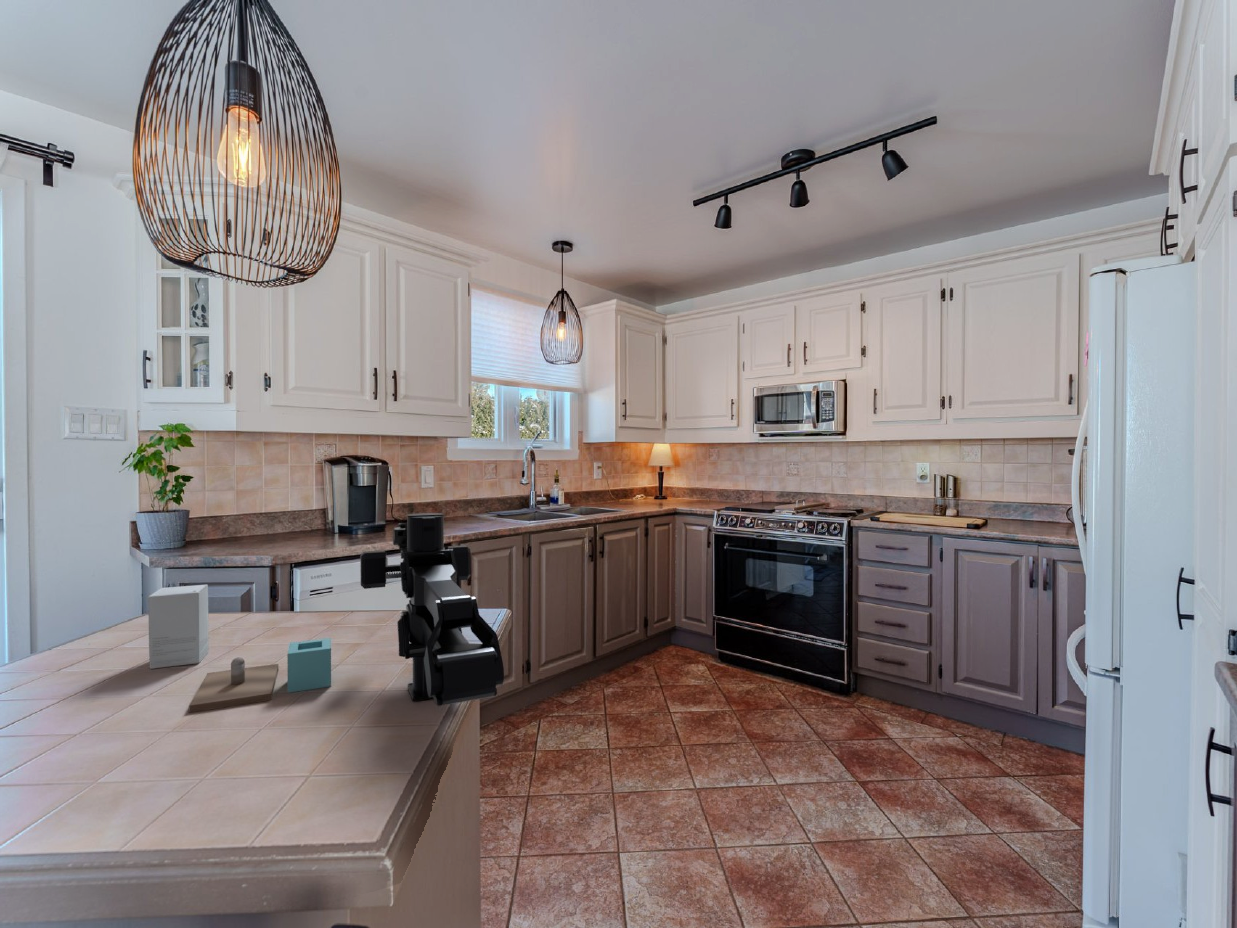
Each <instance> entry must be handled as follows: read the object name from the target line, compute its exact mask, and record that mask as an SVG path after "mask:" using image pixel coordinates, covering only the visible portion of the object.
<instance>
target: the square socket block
mask: <svg viewBox="0 0 1237 928" xmlns="http://www.w3.org/2000/svg"><path fill="white" fill-rule="evenodd" d="M287 650H288V651H287V657H286V658H287V694H289V693H294V692H295V693H296V692H302V691H307V690H308V691H310V690H315V689H321V688H328V687H332V638H331V637H328V638H319V639H311V640H301V641H294V642H289V644H288V649H287Z"/></svg>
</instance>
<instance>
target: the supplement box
mask: <svg viewBox="0 0 1237 928" xmlns="http://www.w3.org/2000/svg"><path fill="white" fill-rule="evenodd" d="M147 603H148V604H147V606H148V607H147V608H148V653H149V654H148V655H149V656H148V657H149V670H154V669H159V668H160V669H162V668H168V667H177V666H179V667H180V666H185V665H195V664H200V663H201V661H202V660H203V659H204V658H205V657H206V656H207V654H208V653H209V651H210V640H209V639H210V637H209V634H210V633H209V629H210V628H209V626H210V625H209V624H210V623H209V585H208V584H198V585H185V586H183V585H181V586H171V587H170V586H169V587H168V586H167V587H161V588H159V589H158V590H156V591H155V592H153V593H151V594H150V595H148V596H147Z"/></svg>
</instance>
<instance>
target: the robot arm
mask: <svg viewBox="0 0 1237 928" xmlns="http://www.w3.org/2000/svg"><path fill="white" fill-rule="evenodd" d="M444 515H445V514H444V513H437V512H436V513H435V512H428V513H427V512H425V513H423V512H422V513H420V512H419V513H412V514H411V513H410V514H407V517H406V518H407V519H406V520H407V522H404V523H398V525H397V527H393V529H392V543H393V545H392V546H398V549H399V550H400V559H403V560H402V562H400V564H399V563H398V564H388V557H387V551H386V550H384V549H383V550H372V551H371V550H368V551H363V552H362V553H361V554H360V555H359V557H360V561H359V562H360V565H359V567H360V586H361V587H362V588H363V589H365V590H367V589H375V588H376V589H379V588H386V584H387V580H388V579H389V580H390V579H400V581H401V582H400V583H401V591H402V592H403V594H404V595H405V599H409V600H408V603H407V604H406V605H405V610H404V611H401V613H400V618H399V619H398V620H397V622H396V623H397V637H398V638H397V639H398V656H399V657H403V658H404V660H409V659H412V682H410V683H408V684H407V689H408V691H409V695H410V698H411V700H412V701H413V702H418V701H423V700H430V699H433V701H434V704H435V705H436V706H437V707H441V706H442V707H443V706H447V705H454V704H459V703H464V702H471V701H475V700H482V699H488V698H493V697H496V696H497V695H498V690H497V687H499V686H502V685H503V683H504V681H505V680H504V679H505V670H504V661H503V657H502V651H501V647H500V643H499V642H500V641H499V637H498V634H497V633H496V632H495V630H494V629H493V628H492V627H491V626H490V625H489V624H488V622H486V621H485V619H484V618H483V617H482V616H481V615H480V612H479V607H478V601H477V598H476V597H475V596H473V595H472V596H471V595H470V594H467V593H466V591H464V590H463V589H462V588H461V587H460V581H467V580H469V578H471V573H472V572H471V571H472V566H471V565H472V562H471V561H472V553H471V549H470V548H469V546H467V545H465V544H464V545H450V546H445V544H444V543H445V542H444V540H445V539H444V537H445V535H444V534H445V532H444V529H445V526H444V521H445V520H444V519H445V516H444ZM465 628H470V631H471V633H472V634H473V635H474V636H475V637H476V638H477V639H478V640H479V642H480V643H471V642H469V641H468V639H466V637H465V636H464V634H463V631H462V629H465Z"/></svg>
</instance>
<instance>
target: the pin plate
mask: <svg viewBox="0 0 1237 928" xmlns="http://www.w3.org/2000/svg"><path fill="white" fill-rule="evenodd" d="M278 672H279V663H274V664H265V665H258V666H252V667H251V666H250V667H246V662H245V659H244V658H243V657H236V658H234V659H232V661H231V663H230V669H228V670H222V671H213V672H207V673H206V675H205V677H204V678H203V681H202V682H201V684H200V686H199V687H198V689H197V691H196V693H195V695H194V696H193V697H192V700H191V702H190V703H189V705H188V711H189V712H188V713H196V712H203V711H209V710H214V709H221V708H228V707H234V706H241V705H247V704H254V703H260V702H267V701H271V700H272V698H273V694H274V690H275V686H276V682H277V681H276V680H277V678H278Z"/></svg>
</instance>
